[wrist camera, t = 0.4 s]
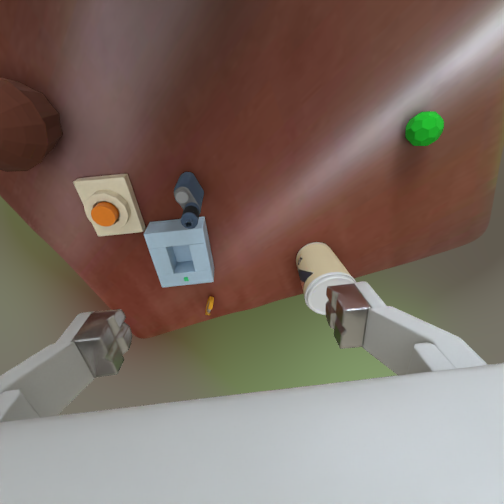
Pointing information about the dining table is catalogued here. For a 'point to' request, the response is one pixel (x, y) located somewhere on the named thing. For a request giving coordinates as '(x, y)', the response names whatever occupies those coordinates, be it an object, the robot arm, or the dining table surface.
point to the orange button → (105, 214)
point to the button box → (113, 192)
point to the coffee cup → (320, 274)
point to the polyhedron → (424, 128)
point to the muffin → (25, 126)
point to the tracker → (209, 305)
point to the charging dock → (180, 252)
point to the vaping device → (189, 199)
